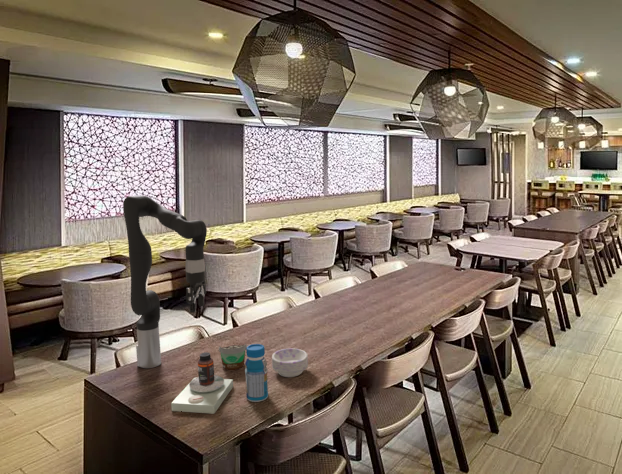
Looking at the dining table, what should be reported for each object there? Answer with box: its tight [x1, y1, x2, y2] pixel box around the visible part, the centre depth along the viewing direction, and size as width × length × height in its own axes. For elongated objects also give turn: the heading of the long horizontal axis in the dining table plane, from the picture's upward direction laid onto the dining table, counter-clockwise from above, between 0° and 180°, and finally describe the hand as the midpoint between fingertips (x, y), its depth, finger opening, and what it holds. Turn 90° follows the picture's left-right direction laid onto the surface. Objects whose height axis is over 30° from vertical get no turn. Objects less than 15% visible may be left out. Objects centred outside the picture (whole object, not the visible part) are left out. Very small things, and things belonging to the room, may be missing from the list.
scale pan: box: [188, 374, 225, 393], centre depth 181 cm, size 13×13×2 cm
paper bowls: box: [271, 347, 309, 378], centre depth 198 cm, size 15×15×8 cm
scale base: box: [170, 377, 234, 415], centre depth 178 cm, size 16×21×4 cm
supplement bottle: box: [197, 352, 215, 385], centre depth 180 cm, size 6×6×11 cm
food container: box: [218, 342, 248, 372], centre depth 203 cm, size 12×6×10 cm, turn 105°
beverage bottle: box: [244, 343, 269, 403], centre depth 176 cm, size 8×8×20 cm
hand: (197, 308), depth 191 cm, fingers open, 8 cm apart
